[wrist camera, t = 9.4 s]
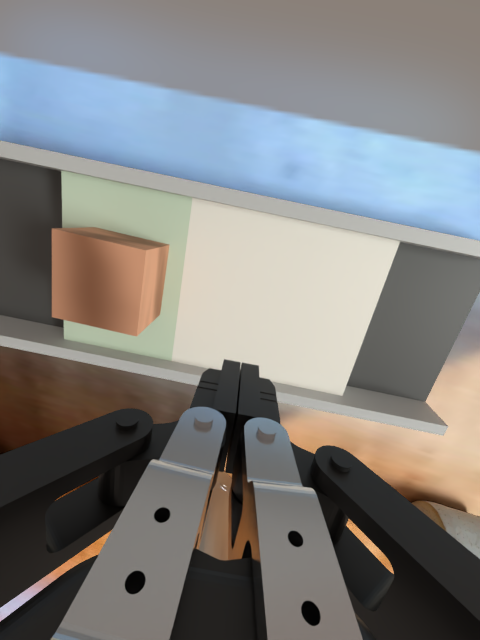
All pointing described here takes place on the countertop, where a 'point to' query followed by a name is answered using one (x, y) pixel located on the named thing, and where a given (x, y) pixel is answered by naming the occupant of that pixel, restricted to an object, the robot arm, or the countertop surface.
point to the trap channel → (261, 292)
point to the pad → (140, 221)
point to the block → (107, 278)
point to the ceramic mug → (454, 523)
